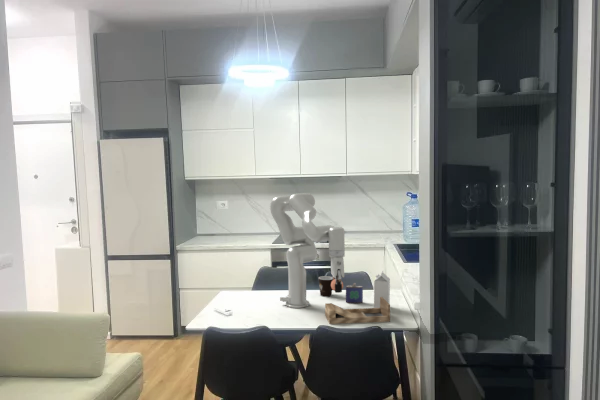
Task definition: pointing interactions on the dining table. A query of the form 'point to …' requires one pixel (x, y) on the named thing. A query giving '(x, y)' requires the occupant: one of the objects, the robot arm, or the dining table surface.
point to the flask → (354, 294)
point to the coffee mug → (325, 286)
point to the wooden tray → (358, 314)
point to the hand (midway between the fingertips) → (337, 290)
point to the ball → (334, 285)
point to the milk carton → (381, 289)
